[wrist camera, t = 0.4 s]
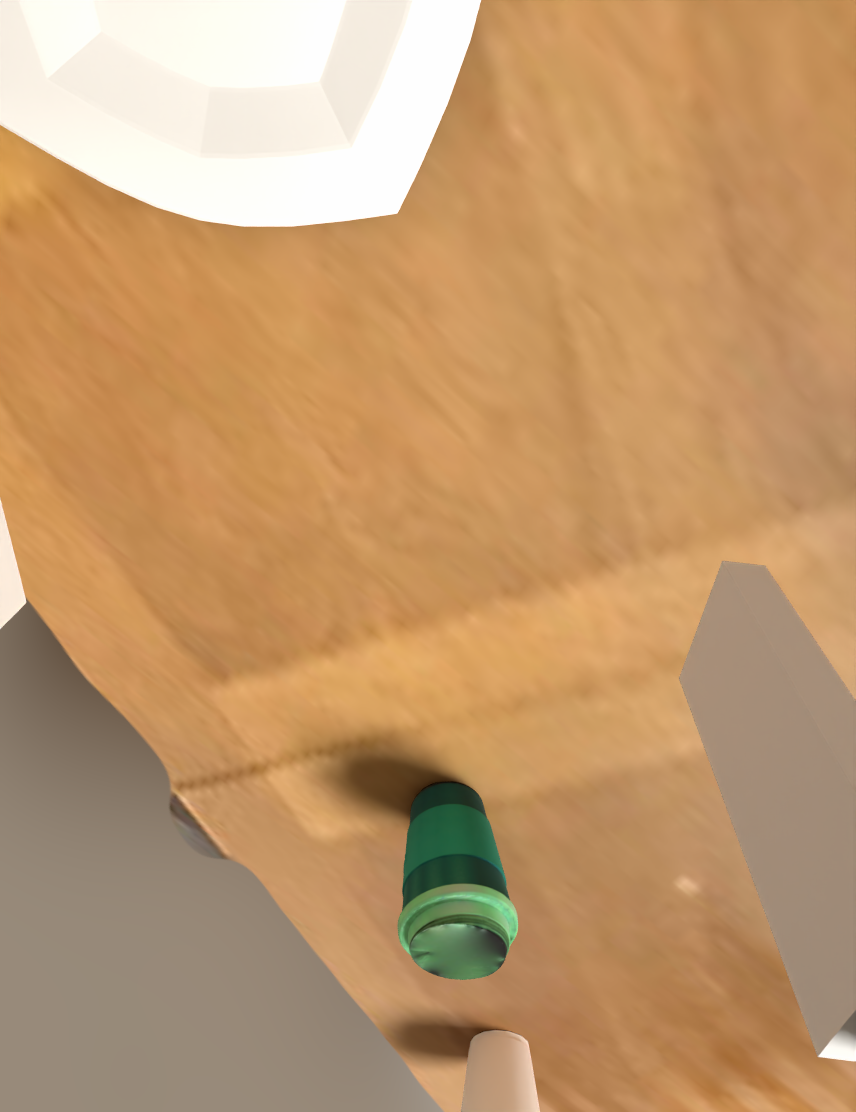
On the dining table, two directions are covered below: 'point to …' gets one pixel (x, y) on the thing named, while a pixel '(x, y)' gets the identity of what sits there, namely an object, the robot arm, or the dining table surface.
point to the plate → (236, 99)
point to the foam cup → (499, 1074)
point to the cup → (454, 887)
